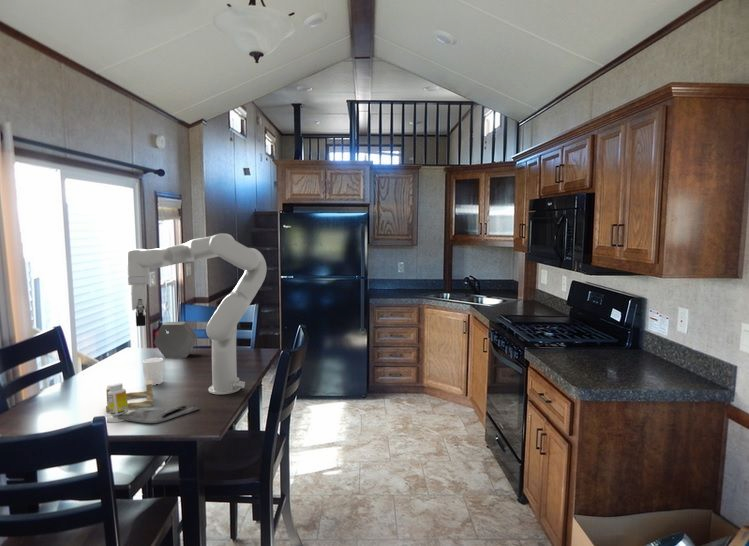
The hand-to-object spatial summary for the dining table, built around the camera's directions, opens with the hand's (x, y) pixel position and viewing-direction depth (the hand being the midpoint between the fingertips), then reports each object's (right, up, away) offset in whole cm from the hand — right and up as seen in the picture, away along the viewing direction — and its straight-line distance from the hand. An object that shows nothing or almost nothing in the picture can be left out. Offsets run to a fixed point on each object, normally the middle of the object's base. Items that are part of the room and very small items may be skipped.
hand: (140, 323), depth 182 cm
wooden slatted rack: (+1, -29, -9) cm, 30 cm away
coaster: (+4, -30, -22) cm, 37 cm away
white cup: (-2, -27, +15) cm, 31 cm away
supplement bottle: (+4, -29, -22) cm, 36 cm away
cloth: (+17, -30, -22) cm, 41 cm away
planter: (-11, -24, +58) cm, 63 cm away
